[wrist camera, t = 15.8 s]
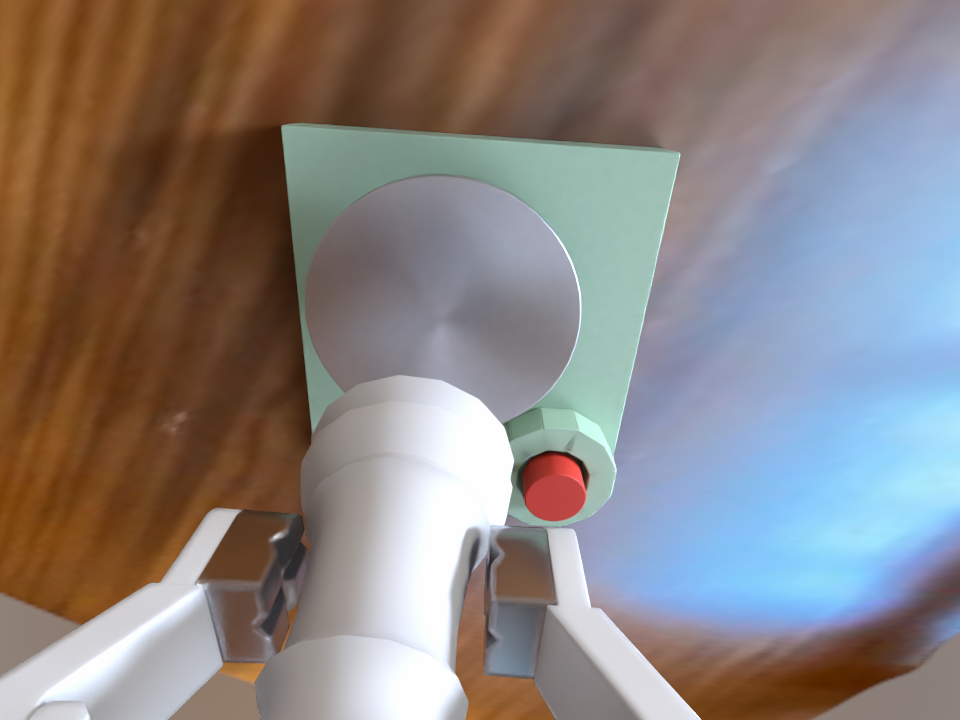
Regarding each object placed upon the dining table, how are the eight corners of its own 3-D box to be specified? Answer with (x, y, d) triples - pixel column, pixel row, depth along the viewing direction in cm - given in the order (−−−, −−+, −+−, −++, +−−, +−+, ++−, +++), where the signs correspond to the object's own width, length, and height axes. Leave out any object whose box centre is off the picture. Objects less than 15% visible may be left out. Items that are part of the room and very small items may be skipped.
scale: (595, 481, 27) (609, 530, 24) (328, 465, 27) (306, 512, 24) (664, 147, 20) (697, 157, 17) (298, 122, 20) (262, 127, 17)
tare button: (576, 499, 24) (581, 524, 22) (519, 495, 24) (521, 520, 22) (585, 453, 23) (591, 476, 21) (525, 449, 22) (527, 472, 21)
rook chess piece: (543, 399, 11) (642, 939, 4) (476, 542, 13) (461, 1079, 6) (339, 336, 11) (24, 838, 3) (300, 496, 12) (47, 1030, 5)
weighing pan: (559, 433, 22) (561, 441, 21) (319, 418, 21) (315, 426, 21) (599, 183, 17) (603, 186, 17) (296, 162, 17) (290, 164, 16)
